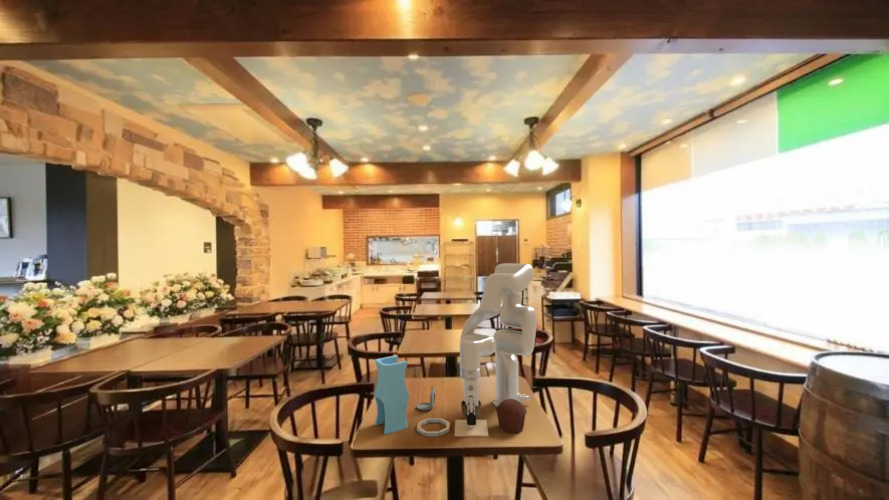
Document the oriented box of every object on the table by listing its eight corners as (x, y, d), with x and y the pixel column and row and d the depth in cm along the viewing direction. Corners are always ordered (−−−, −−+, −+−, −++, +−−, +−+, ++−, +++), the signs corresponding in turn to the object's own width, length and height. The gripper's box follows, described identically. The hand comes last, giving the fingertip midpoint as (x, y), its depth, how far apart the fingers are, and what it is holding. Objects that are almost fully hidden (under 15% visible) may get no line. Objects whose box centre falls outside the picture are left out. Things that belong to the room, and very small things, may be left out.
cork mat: (486, 421, 151) (486, 419, 151) (488, 436, 139) (488, 435, 139) (455, 421, 151) (455, 419, 151) (454, 436, 139) (454, 434, 139)
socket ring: (450, 421, 152) (450, 418, 151) (449, 436, 140) (449, 433, 140) (419, 421, 152) (419, 418, 152) (415, 436, 140) (415, 432, 140)
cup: (484, 422, 146) (484, 400, 146) (475, 430, 140) (475, 407, 140) (467, 417, 150) (467, 396, 150) (457, 425, 144) (457, 403, 144)
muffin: (529, 435, 139) (529, 407, 139) (498, 435, 140) (497, 407, 139) (523, 420, 151) (523, 394, 151) (494, 420, 151) (494, 395, 151)
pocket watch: (414, 406, 166) (414, 383, 166) (433, 403, 169) (432, 380, 169) (421, 414, 159) (420, 389, 158) (440, 410, 162) (439, 386, 162)
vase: (409, 427, 147) (408, 361, 147) (385, 434, 142) (383, 366, 141) (398, 417, 155) (396, 355, 155) (374, 424, 150) (373, 359, 150)
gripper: (481, 380, 136) (482, 431, 136) (479, 365, 153) (480, 410, 154) (460, 380, 136) (461, 431, 137) (460, 365, 154) (461, 410, 154)
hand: (471, 419), depth 145 cm, fingers closed on cup, 6 cm apart
